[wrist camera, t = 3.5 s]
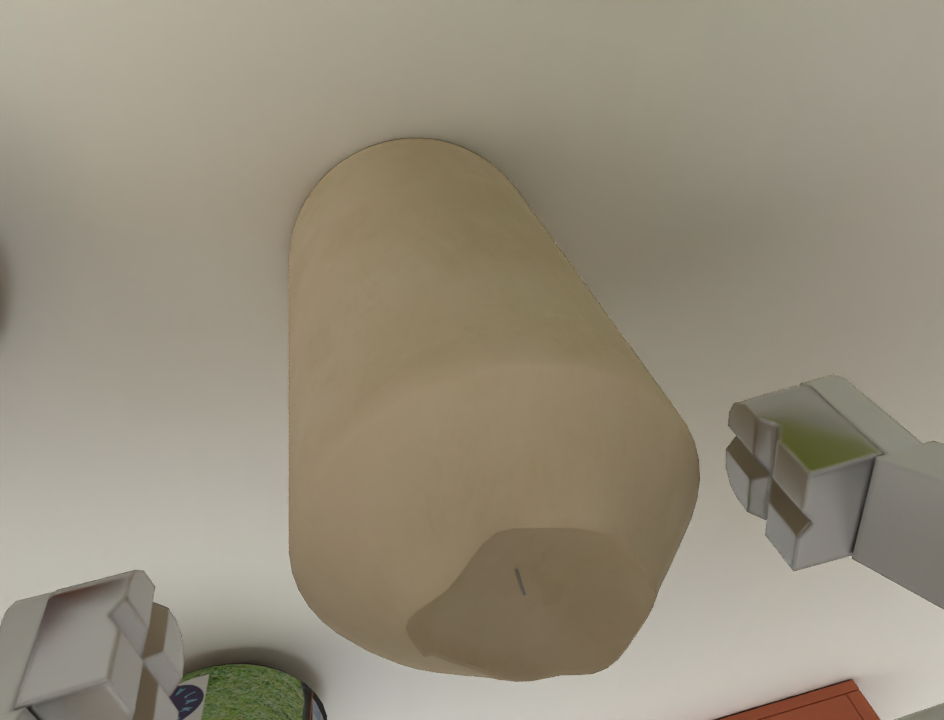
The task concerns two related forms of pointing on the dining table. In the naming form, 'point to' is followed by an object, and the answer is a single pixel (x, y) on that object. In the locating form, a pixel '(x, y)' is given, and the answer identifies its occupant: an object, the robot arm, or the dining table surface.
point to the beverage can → (245, 695)
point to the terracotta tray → (816, 706)
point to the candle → (469, 429)
